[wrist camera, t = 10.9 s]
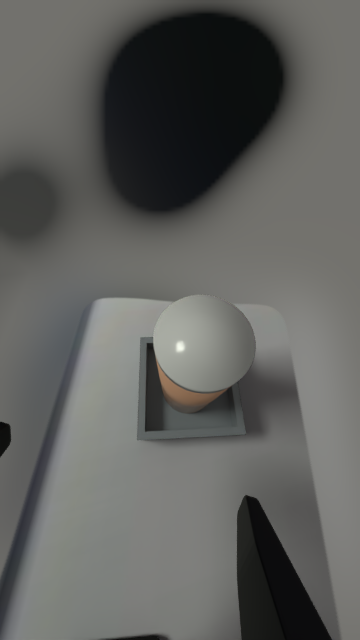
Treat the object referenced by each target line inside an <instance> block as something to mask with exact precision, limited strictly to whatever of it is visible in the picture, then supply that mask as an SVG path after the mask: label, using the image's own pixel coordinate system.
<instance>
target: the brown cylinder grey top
mask: <svg viewBox="0 0 360 640" xmlns="http://www.w3.org/2000/svg"><path fill="white" fill-rule="evenodd" d="M153 344H154V351H155V356H156V361H157V366H158V372H159V377H160V382H161V387H162V392H163V396H164V398H165V400H166V402H167V403H168V404H169V406H170V407H172V408H173V409H174V410H176V411H178V412H181V413H186V414H190V413H195V412H198V411H200V410H202V409H203V408H204V407H206V406H207V405H208V404H209V403H211V402H212V401H213V400H215V399H216V398H217V397H218V396H220V395H221V394H222V393H223V392H225V391H226V390H227V389H228V388H230V387H231V386H232V385H234V384H235V383H236V382H237V381H239V380H240V379H241V378H242V377H243V376H244V375H245V374H246V373H247V371H248V370H249V368H250V367H251V364H252V362H253V359H254V356H255V349H256V342H255V336H254V332H253V329H252V327H251V325H250V323H249V321H248V319H247V318H246V317H245V315H244V314H243V313H242V312H241V311H240V310H239V309H238V308H237V307H235V306H234V305H233V304H231V303H229V302H228V301H225V300H223V299H221V298H218V297H214V296H209V295H193V296H188V297H185V298H182V299H180V300H178V301H176V302H174V303H172V304H171V305H170V306H169V307H167V308H166V309H165V311H164V312H163V313H162V314H161V316H160V317H159V319H158V321H157V323H156V326H155V329H154V335H153Z"/></svg>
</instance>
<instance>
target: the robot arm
mask: <svg viewBox="0 0 360 640" xmlns="http://www.w3.org/2000/svg"><path fill="white" fill-rule="evenodd" d="M10 442H11V429H10V425H9V424H7V423H4V422H0V457H1V456H2V454H3V453H4V452H5V450H6V449H7V448H8V446H9V445H10ZM237 584H238V598H239V611H240V624H241V637H242V640H332V639H331V637H330V635H329V633H328V631H327V629H326V627H325V626H324V624H323V622H322V620H321V618H320V616H319V614H318V612H317V610H316V609H315V607H314V605H313V603H312V601H311V599H310V597H309V595H308V593H307V592H306V590H305V588H304V586H303V584H302V582H301V580H300V578H299V576H298V575H297V573H296V571H295V569H294V567H293V565H292V563H291V561H290V559H289V557H288V556H287V554H286V552H285V550H284V548H283V546H282V544H281V542H280V540H279V539H278V537H277V535H276V533H275V531H274V529H273V527H272V525H271V523H270V522H269V520H268V518H267V516H266V514H265V512H264V510H263V508H262V506H261V505H260V503H259V501H258V500H257V499H256V498H254V497H251V496H248V495H246V496H244V498H243V500H242V503H241V505H240V507H239V510H238V515H237ZM120 640H159V638H158V637H156V636H149V637H139V638H129V639H120Z"/></svg>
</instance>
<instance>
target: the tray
mask: <svg viewBox="0 0 360 640" xmlns="http://www.w3.org/2000/svg"><path fill="white" fill-rule="evenodd" d="M227 435H246V431H245V424H244V418H243V412H242V405H241V399H240V393H239V387H238V381H237V382H236V383H235V384H234V385H232V386H231V387H230V388H228V389H227V390H226V391H225V392H223V393H222V394H221V395H220V396H218V397H217V398H216V399H215V400H213V401H212V402H211V403H209V404H208V405H207V406H206V407H204V408H203V409H202V410H200V411H198V412H195V413H190V414H186V413H181V412H178V411H176V410H174V409H173V408H172V407H170V406H169V404H168V403H167V402H166V400H165V398H164V396H163V392H162V387H161V382H160V377H159V372H158V366H157V361H156V356H155V351H154V344H153V337H141V340H140V370H139V400H138V430H137V440H153V439H172V438H190V437H209V436H227Z"/></svg>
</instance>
